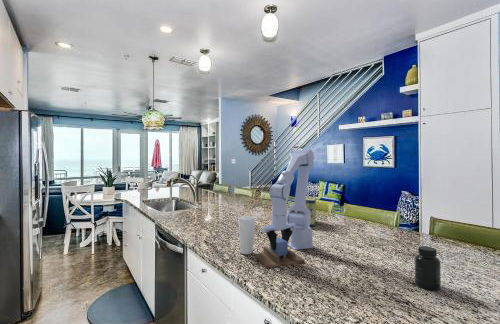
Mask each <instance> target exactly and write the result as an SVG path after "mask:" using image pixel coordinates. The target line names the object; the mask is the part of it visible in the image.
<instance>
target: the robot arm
mask: <svg viewBox="0 0 500 324" xmlns="http://www.w3.org/2000/svg"><path fill="white" fill-rule="evenodd" d="M288 156H289V162H288V164H287V167H286V169H285V170H283V171H281V173H280V175H279V176H278V179H277V180H276V182H275V183H274V184H272V185H271V186H270V188H269V191H268V194H269V197H270V203H271V224H269V225H265V226H261V233H264V234H266V235H267V237H268V240H269V245H270V244H271V248H272V249H273V250H276V239H277V238H278V233H277V231H280V233H281V234H280V235H281V239H283V240H285V241H287V242H288V247H290V248H292V249H293V250H295V251H298V250H304V249H305V250H306V249H312V248H314V245H313V244H314V243H313V229H312V227H309V226H310V223H311V211H310V210H309V209H308V208H307V207H306V206H305V204H306V197H307V193H308V186H309V185H308V184H309V177H310V170H312V169H313V166H314V159H315V156H314V152H313V150H312V149H291V150H290V152H289V154H288ZM296 171H298V172H297V181H296V188H295V196H294V203H293V205H292V206H290V207H289V208H287V204H288V203H287V202H288V201H287V199H288V198H289V197H290V192H291V185H292V184H293V182H294V179H295V173H296ZM287 209H288V210H287ZM287 211H288V212H287ZM297 211H299V212H297ZM300 212H304V213H300ZM289 240H290V242H289Z"/></svg>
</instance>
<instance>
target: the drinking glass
mask: <svg viewBox="0 0 500 324" xmlns="http://www.w3.org/2000/svg"><path fill="white" fill-rule="evenodd" d="M255 219H256V218H255V217H254V216H252V215H241V216H239V217H238V235H239V251H240V254H242V255H251V254H252V253H253V251H254V238H255V229H256V227H255V226H256V225H255V223H256V222H255V221H256V220H255Z"/></svg>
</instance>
